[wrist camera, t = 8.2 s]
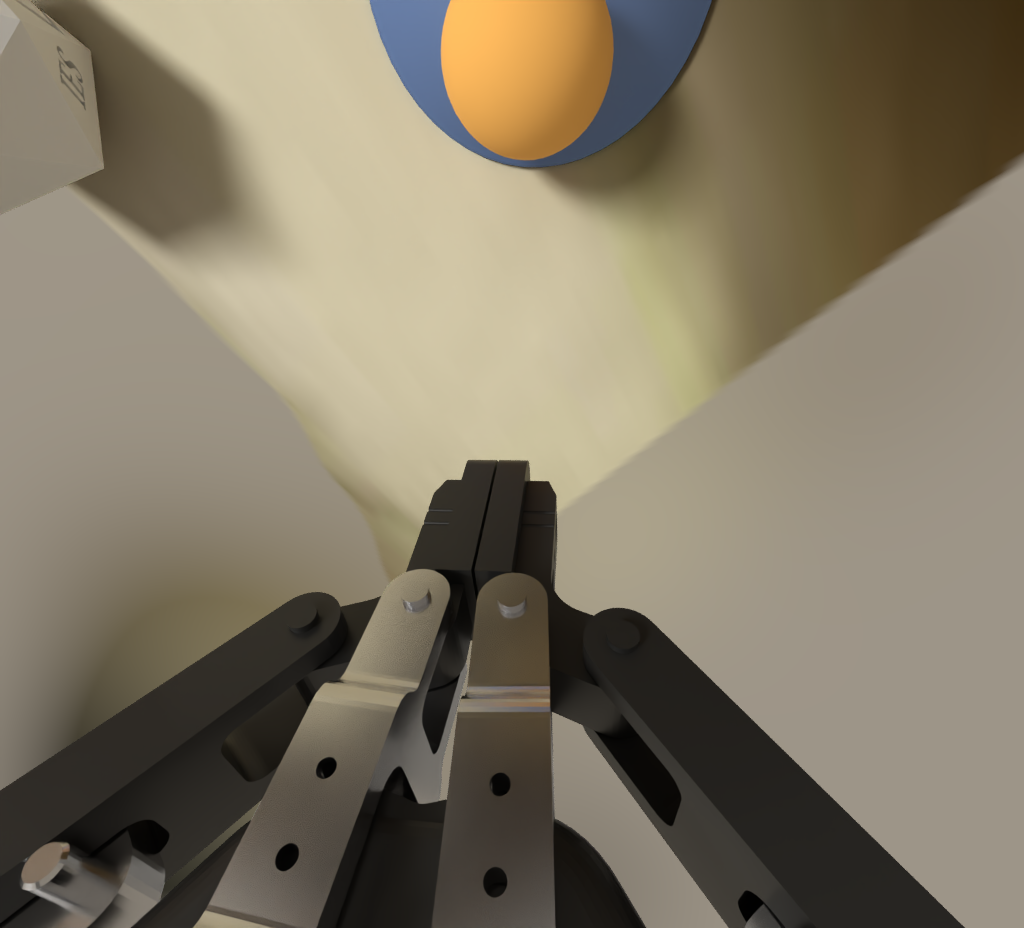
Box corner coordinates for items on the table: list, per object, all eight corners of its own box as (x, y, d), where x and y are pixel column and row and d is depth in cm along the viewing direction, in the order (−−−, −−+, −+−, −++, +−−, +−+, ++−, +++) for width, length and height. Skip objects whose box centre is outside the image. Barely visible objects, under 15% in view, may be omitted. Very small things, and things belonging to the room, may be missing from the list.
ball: (409, 124, 16) (479, 192, 22) (594, 93, 15) (619, 176, 20) (406, -88, 16) (479, 38, 21) (603, -151, 14) (626, 7, 19)
